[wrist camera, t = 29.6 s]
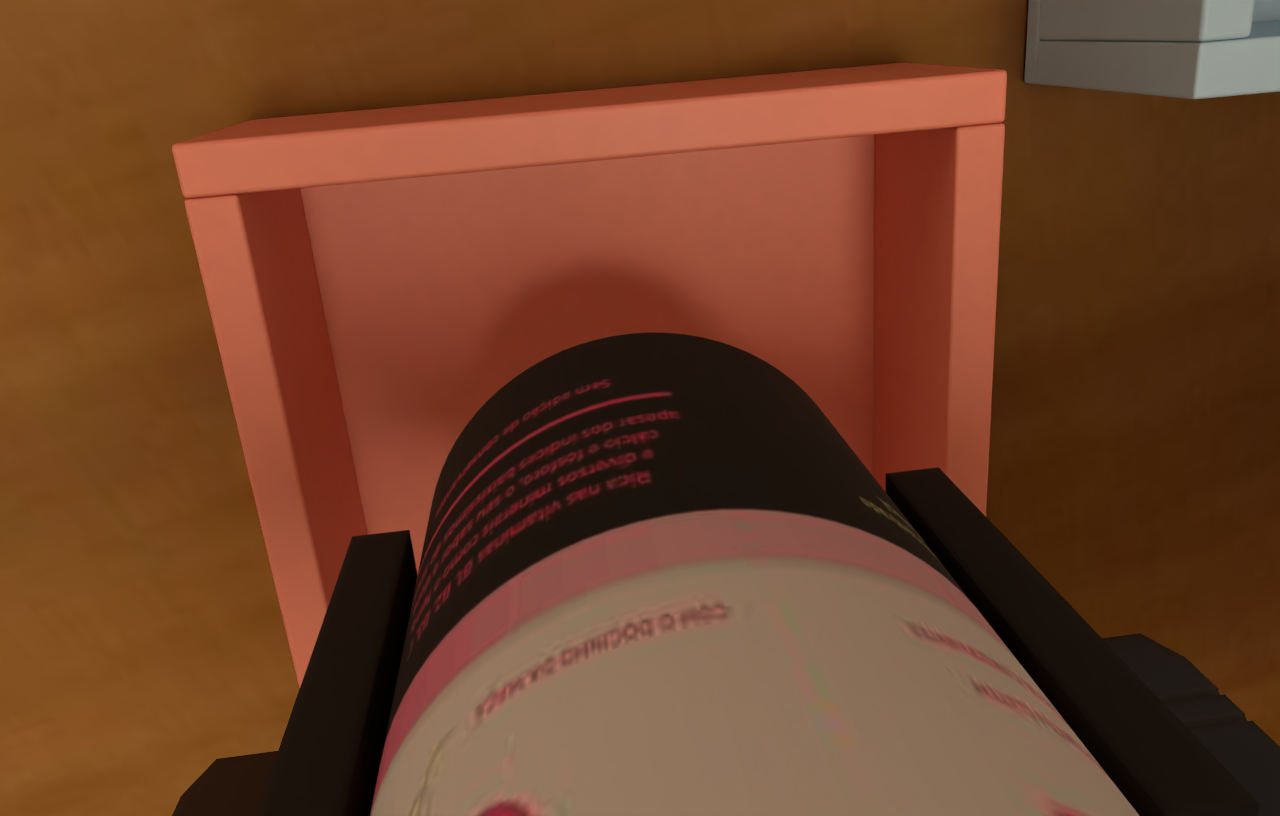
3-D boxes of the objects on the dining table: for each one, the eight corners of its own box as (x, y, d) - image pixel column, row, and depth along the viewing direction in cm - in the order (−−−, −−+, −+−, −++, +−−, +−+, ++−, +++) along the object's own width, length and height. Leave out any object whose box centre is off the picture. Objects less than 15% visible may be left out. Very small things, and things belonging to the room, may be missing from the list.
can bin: (897, 615, 24) (976, 737, 20) (366, 684, 23) (330, 827, 19) (906, 61, 20) (1009, 69, 15) (248, 119, 19) (168, 144, 15)
